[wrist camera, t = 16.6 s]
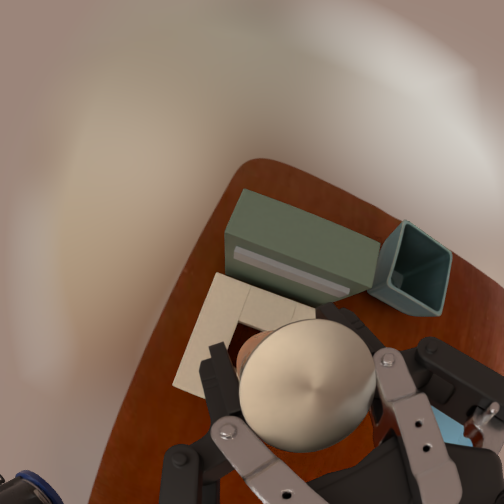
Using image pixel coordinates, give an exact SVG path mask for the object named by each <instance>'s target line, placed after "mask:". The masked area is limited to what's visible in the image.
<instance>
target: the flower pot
mask: <svg viewBox="0 0 504 504" xmlns="http://www.w3.org/2000/svg"><path fill="white" fill-rule="evenodd" d="M451 263H452V252H451V251H450V250H449V249H447V248H446V247H445V246H443V245H442V244H440V243H439V242H438V241H436V240H435V239H433V238H432V237H431V236H429V235H428V234H426V233H425V232H423V231H422V230H421V229H419V228H418V227H416V226H415V225H414V224H412V223H411V222H410V221H407V220H404V221H403V222H402V223H401V224H400V225H399V226H398V227H397V228H396V229H395V230H394V231H393V232H392V233H391V234H390V236H389V237H388V238H387V239H386V240H385V242H384V244H383V246H382V248H381V250H380V253H379V256H378V260H377V265H376V270H375V275H374V280H373V285H372V288H371V289H368V290H367V292H368V293H369V294H370V295H372V296H374V297H375V298H377V299H379V300H381V301H383V302H384V303H386V304H388V305H390V306H392V307H393V308H395V309H397V310H399V311H400V312H402V313H405V314H407V315H411V316H440V315H441V313H442V310H443V305H444V301H445V296H446V291H447V285H448V280H449V275H450V269H451Z"/></svg>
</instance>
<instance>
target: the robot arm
mask: <svg viewBox="0 0 504 504" xmlns="http://www.w3.org/2000/svg"><path fill="white" fill-rule="evenodd" d="M315 317H316V319H325V320H330V321H334V322H337V323H340V324H342V325H344V326H346V327H348V328H349V329H351V330H352V331H354V332H355V333H356V334H357V335H358V336H359V337H360V338H361V339H362V340H363V341H364V343H365V344H366V345H367V347H368V349H369V351H370V353H371V355H372V357H373V360H374V364H375V376H376V389H375V395H374V398H373V401H372V404H371V406H370V409H369V414H370V418H371V422H372V426H373V442H374V447H375V449H373V450H372V451H371V452H370V453H369V454H368V455H367V456H366V457H365V458H364V459H363V460H362V461H361V462H359V463H358V464H357V465H356V466H354V467H351V468H348V469H344V470H340V471H336V472H332V473H327V474H325V475H323V476H321V477H319V478H316V479H314V480H312V481H309V482H307V483H305V482H304V481H303V480H302V479H301V478H299V477H298V476H297V475H296V474H295V473H294V472H293V471H292V470H291V469H290V468H289V467H288V466H287V465H286V464H285V463H284V462H283V461H282V460H281V459H279V458H278V457H276V456H275V455H274V454H273V453H272V452H271V451H270V450H269V449H268V448H267V447H266V446H265V445H264V443H263V442H262V441H261V440H260V439H259V438H258V437H257V436H256V435H255V434H254V432H253V431H252V430H251V429H250V427H249V426H248V424H247V422H246V421H245V418H244V416H243V414H242V410H241V407H240V402H239V380H238V377H237V375H236V372H235V369H234V367H233V364H232V361H231V359H230V356H229V354H228V351H227V349H226V346H225V344H224V341H223V342H220V343H217V344H214V345H211V346H208V347H209V351H210V355H211V358H209V359H206V360H202V361H201V363H200V367H199V375H200V379H201V382H202V387H203V390H204V395H205V399H206V403H207V407H208V410H209V414H210V418H211V426H210V429H209V431H208V432H207V434H206V435H205V436H204V437H202V438H201V439H199V440H198V441H196V442H194V443H193V444H191V445H186V444H178V445H174V446H172V447H171V448H169V449H168V450H167V452H166V453H165V456H164V461H163V469H162V478H161V487H160V496H159V504H220V478H222V477H223V476H225V475H226V474H228V473H230V472H231V471H233V470H234V469H236V471H237V472H238V473H239V474H240V476H241V477H242V478H243V480H244V481H245V483H246V484H247V485H248V486H249V487H250V489H251V490H252V491H253V492H254V493H255V494H256V495H257V496H258V498H259V499H260V500H261V501H262V502H263V503H264V504H504V479H503V473H502V463H501V460H500V458H499V456H498V454H499V452H500V450H501V448H502V446H503V444H504V376H502V375H500V374H498V373H497V372H495V371H493V370H492V369H490V368H488V367H486V366H485V365H483V364H481V363H479V362H478V361H476V360H474V359H473V358H471V357H469V356H467V355H466V354H464V353H462V352H460V351H459V350H457V349H455V348H453V347H452V346H450V345H448V344H446V343H445V342H443V341H441V340H439V339H437V338H435V337H425V338H423V339H422V340H421V341H420V342H419V343H418V346H417V347H415V348H411V349H408V350H404V351H397V350H396V349H393V348H386V347H385V346H384V345H383V344H382V343H381V342H380V341H379V340H378V339H377V337H376V336H375V335H374V334H373V333H372V332H371V331H370V330H369V329H368V328H367V327H366V326H365V324H364V323H363V322H362V321H360V319H359V318H358V317H357V316H356V315H355V314H354V313H353V312H352V311H350V310H348V309H346V308H344V307H343V308H341V309H339V310H338V308H337V307H336V306H335V305H334V304H333V303H332V302H328V303H326V304H323V305H321V306H318V307H316V309H315ZM431 406H433V407H434V408H436V409H438V410H439V411H441V412H442V413H444V414H445V415H447V416H448V417H450V418H452V419H453V420H455V421H456V422H458V423H460V424H461V425H463V426H464V432H463V435H464V437H465V438H469V439H470V440H471V442H472V445H473V447H471V446H464V445H458V444H452V443H447V442H444V440H443V437H442V434H441V432H440V429H439V426H438V423H437V421H436V418H435V415H434V413H433V410H432V408H431ZM0 478H1V479H2V480H0V504H54V503H53V502H52V500H51V499H50V498H49V496H48V495H47V494H46V493H45V492H44V491H43V490H42V489H41V488H40V487H39V486H38V485H36V484H35V483H34V482H32V481H30V480H28V479H25V478H23V477H21V476H18V477H16V478H14V479H12V480H10V481H8V482H6V483H4V482H5V480H4V478H3V477H2V476H1V475H0ZM2 483H4V484H2Z"/></svg>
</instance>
